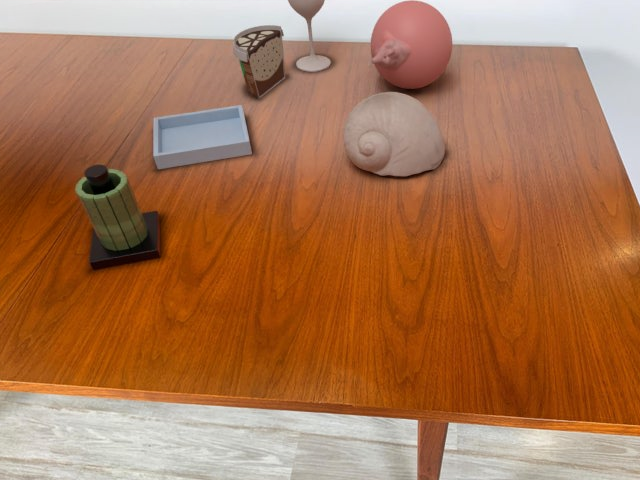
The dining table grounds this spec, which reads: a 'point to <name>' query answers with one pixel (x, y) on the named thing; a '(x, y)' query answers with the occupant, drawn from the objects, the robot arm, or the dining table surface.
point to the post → (143, 251)
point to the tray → (200, 137)
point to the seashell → (393, 135)
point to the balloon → (411, 44)
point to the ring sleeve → (114, 213)
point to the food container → (260, 58)
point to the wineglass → (310, 35)
